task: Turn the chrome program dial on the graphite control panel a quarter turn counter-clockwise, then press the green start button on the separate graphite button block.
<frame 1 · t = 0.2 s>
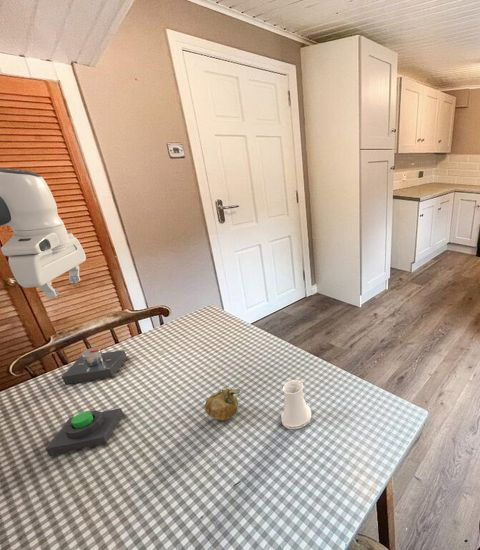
hand: (65, 289, 79), 30 cm above the table, tool pointing down, fingers open, 8 cm apart
dial panel: (98, 370, 95), on the table
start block: (89, 433, 74), on the table
start button: (82, 419, 72), point 4 cm above the table, slide at 0.1 cm
onion: (224, 415, 79), on the table
vase: (296, 417, 78), on the table
program dial: (92, 356, 93), point 5 cm above the table, hinge at 0.0°
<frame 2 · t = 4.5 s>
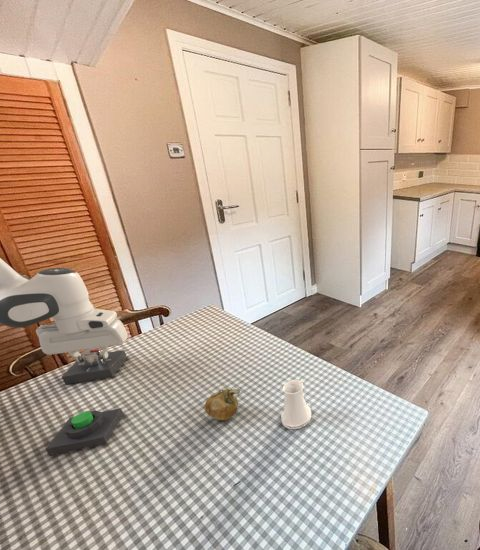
hand: (93, 359, 94), 4 cm above the table, tool pointing down, fingers closed on program dial, 4 cm apart
program dial: (92, 356, 93), point 5 cm above the table, hinge at 0.1°, touching gripper
everything else where it was.
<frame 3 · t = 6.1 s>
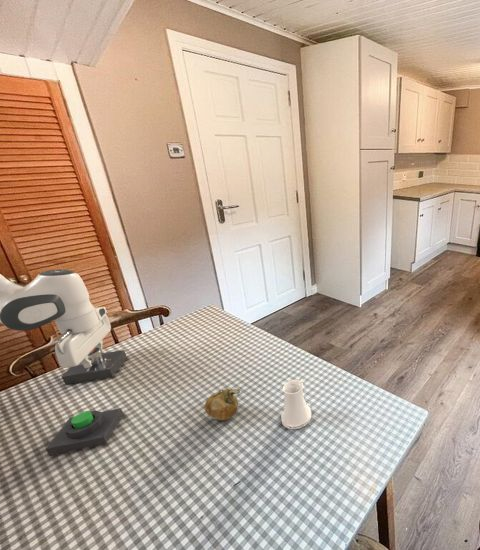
hand: (94, 360, 94), 4 cm above the table, tool pointing down, fingers closed on program dial, 4 cm apart
program dial: (92, 356, 93), point 5 cm above the table, hinge at 90.2°, touching gripper
everything else where it was.
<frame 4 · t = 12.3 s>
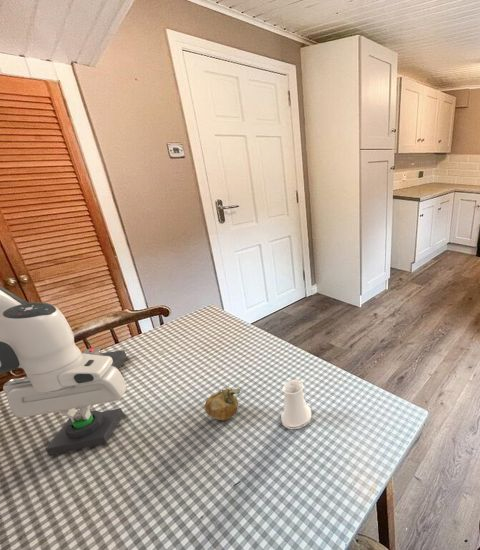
hand: (82, 419, 72), 5 cm above the table, tool pointing down, fingers closed, pressing on start button
start button: (83, 421, 72), point 4 cm above the table, slide at -0.4 cm, touching gripper
program dial: (92, 356, 93), point 5 cm above the table, hinge at 90.0°
everything else where it was.
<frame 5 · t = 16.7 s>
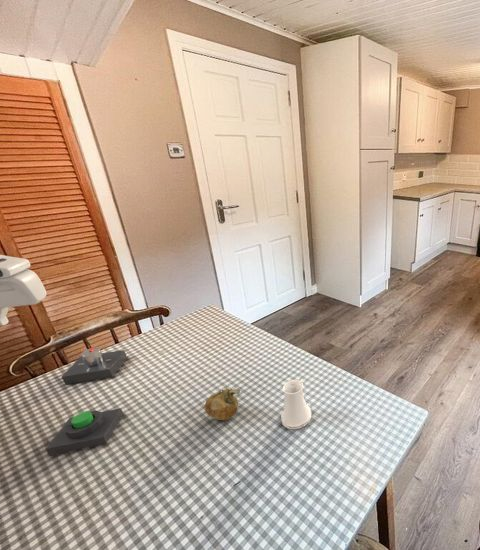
start button: (82, 419, 72), point 4 cm above the table, slide at 0.1 cm
everything else where it was.
at the end: program dial at +90° (first picture: +0°); start button pushed in 1.0 cm at the most during the clip, back to where it started at the end; start button slide at 0.1 cm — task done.
